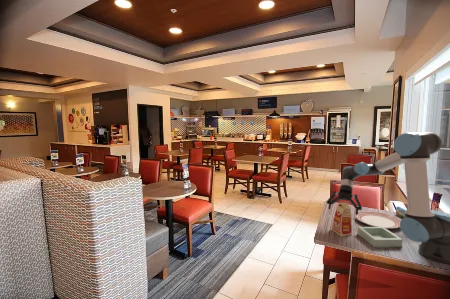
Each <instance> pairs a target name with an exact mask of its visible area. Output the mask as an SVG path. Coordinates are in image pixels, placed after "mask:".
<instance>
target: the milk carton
mask: <svg viewBox="0 0 450 299" xmlns="http://www.w3.org/2000/svg"><path fill="white" fill-rule="evenodd" d="M349 203H350V202H341V201H339V203H338V204H337V206H336V208H335V213H334V216H333V220H332V224H331V229H330V230H331V231H333V232H335V234H337V235H339V236H340V237H346V236H351V235H353V223H352V222H353V221H352V211H351V210H352V209H351V207H350V206H349Z"/></svg>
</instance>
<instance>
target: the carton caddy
mask: <svg viewBox="0 0 450 299" xmlns="http://www.w3.org/2000/svg"><path fill="white" fill-rule="evenodd" d="M357 235H358V236H359V237H360V238H361V239H363V240H364V241H366V243H368V244H369V245H370V246H372V247H373V248H374V249H375V248H376V249H377V248H378V249H380V248H381V249H383V248H386V249H387V248H403V242H404V241H403V239H402V238H401V237H399V235H397V234H395V233H393V232H392V231H390V229H386V228H384V227H374V226H357Z"/></svg>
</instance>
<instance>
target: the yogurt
mask: <svg viewBox="0 0 450 299" xmlns="http://www.w3.org/2000/svg"><path fill="white" fill-rule="evenodd" d="M395 210H396V211H395V215H396V214H397V216H398V217H400V218H402V219H403V218H405V213H404V212H405V211H406V210H407V209H405V208H402V207H400V206H396V209H395Z"/></svg>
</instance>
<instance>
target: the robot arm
mask: <svg viewBox="0 0 450 299" xmlns="http://www.w3.org/2000/svg"><path fill="white" fill-rule="evenodd" d="M442 146H443V140H442V138H441V137H440V136H439V135H438V134H437V133H434V132H430V131H410V132H404V133H400V134H399V135H398V136H397V137H396V139H395V140H394V141H393V150H394V151H395V152H394V153H391V154H389V155H387V156H385V157H383V158H380V159H379V160H377V161H375V162H372V163H366V162H364V161H361V162H358V163H356V164H355V165H353V166H345V167H343V169H342V172H341V173H342V174H341V180H340V186H339V191H338V192H337V191H336V190H334V191H333V192H332V195H331V196H330V197H328V199H327V200H326V204H328V210H329V215H330V216H331V215H332V214H333V205H334V204H336V203H338V201H341V200H342V201H348V202H349V203H350V204H351V205H352V206H353V207H354V212H353V220H354V221H355V220H356V215H358V212H359V211H362V209H363V207H362V205H361V203H360V201H359V198H358V194H353V188H354V183H355V182H354V181H355V179H357V178H359V177H363V176H365V177H366V176H379V175H382V174H384V173H385V172H386V171H388V170H391V169H393V168H396V167H398V166H401V165H403V164H404V176H405V186H406V188H405V189H406V190H405V191H406V200H407V201H406V202H407V209H405V210H406V211H405V212H404V213H405V218H402V219H400V220H401V221H400V227H399V229H400V231H401V232H402V234H403V235H404V236H405V237H406V238H407V239H409V240H410V241H412V242H416V243H420V244H419V245H418V252H419V254H421V256H423V257H425V258H427V259H429V260H432V261H434V262H436V263H441V264H445V265H450V213H447V212H443V211H440V210H434V209H431V203H430V202H431V201H430V192H429V191H430V190H429V180H428V179H429V178H428V166H427V162H428V161H429V160H430V159H431V155H433V154H436V153H437V152H439V151H440V150H441V148H442ZM352 198H353V199H354V200H355V201H354V200H353V199H352ZM355 202H356V203H355Z"/></svg>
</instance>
